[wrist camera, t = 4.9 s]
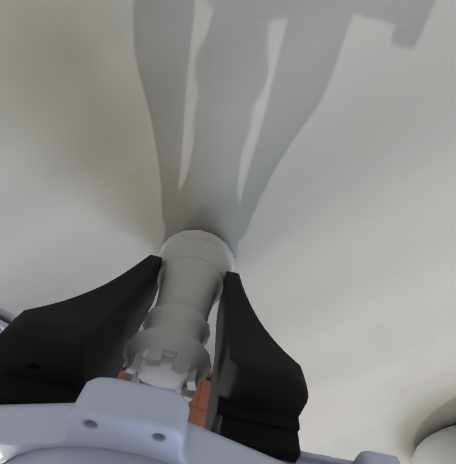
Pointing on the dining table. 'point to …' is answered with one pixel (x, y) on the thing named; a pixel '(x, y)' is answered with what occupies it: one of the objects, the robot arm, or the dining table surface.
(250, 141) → the dining table surface
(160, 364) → the rook chess piece
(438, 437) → the donut
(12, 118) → the dining table surface
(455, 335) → the dining table surface
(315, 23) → the dining table surface
